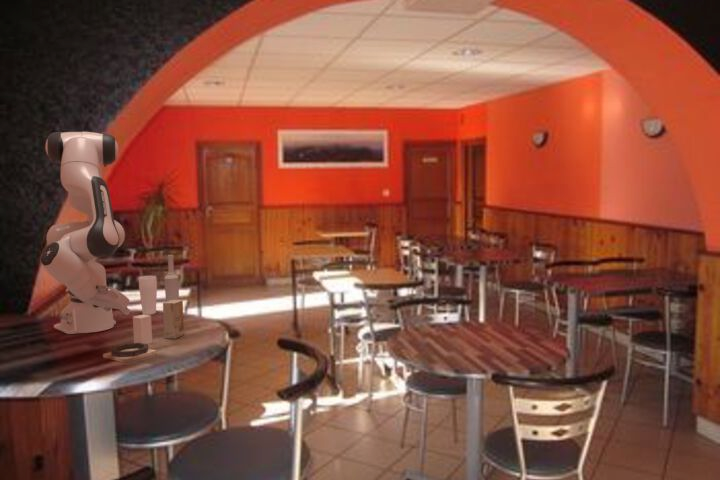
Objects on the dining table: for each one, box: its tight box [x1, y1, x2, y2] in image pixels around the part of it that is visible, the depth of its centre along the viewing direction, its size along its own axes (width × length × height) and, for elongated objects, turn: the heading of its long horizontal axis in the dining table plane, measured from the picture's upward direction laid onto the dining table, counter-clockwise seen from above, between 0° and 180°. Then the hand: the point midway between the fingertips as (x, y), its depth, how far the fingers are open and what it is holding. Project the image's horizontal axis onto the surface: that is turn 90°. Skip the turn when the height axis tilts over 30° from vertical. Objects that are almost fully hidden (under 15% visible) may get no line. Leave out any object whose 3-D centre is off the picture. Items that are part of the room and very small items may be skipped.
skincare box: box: [162, 299, 185, 340], centre depth 203 cm, size 6×4×12 cm
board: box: [102, 342, 158, 364], centre depth 182 cm, size 11×11×2 cm
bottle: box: [163, 254, 180, 302], centre depth 227 cm, size 5×5×25 cm
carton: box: [132, 314, 153, 345], centre depth 195 cm, size 4×4×9 cm
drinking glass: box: [138, 275, 158, 316], centre depth 239 cm, size 7×7×15 cm
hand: (118, 311), depth 188 cm, fingers open, 8 cm apart
